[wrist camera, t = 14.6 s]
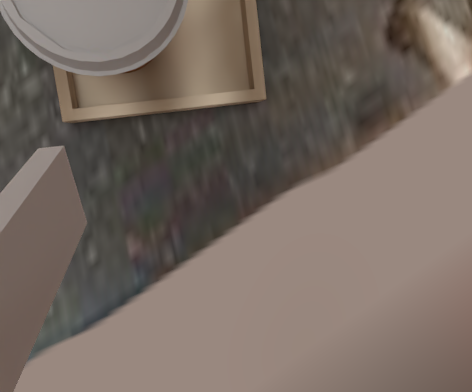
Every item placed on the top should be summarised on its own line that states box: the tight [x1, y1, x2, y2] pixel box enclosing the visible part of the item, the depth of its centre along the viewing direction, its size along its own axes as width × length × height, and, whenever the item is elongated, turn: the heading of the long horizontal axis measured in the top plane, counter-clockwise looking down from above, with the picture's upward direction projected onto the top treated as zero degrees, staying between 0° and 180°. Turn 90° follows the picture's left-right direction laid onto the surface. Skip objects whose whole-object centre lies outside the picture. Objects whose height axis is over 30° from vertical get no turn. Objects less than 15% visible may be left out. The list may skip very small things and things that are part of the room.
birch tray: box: [53, 0, 266, 123], centre depth 32 cm, size 15×15×3 cm
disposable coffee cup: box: [0, 0, 188, 76], centre depth 26 cm, size 10×10×12 cm
